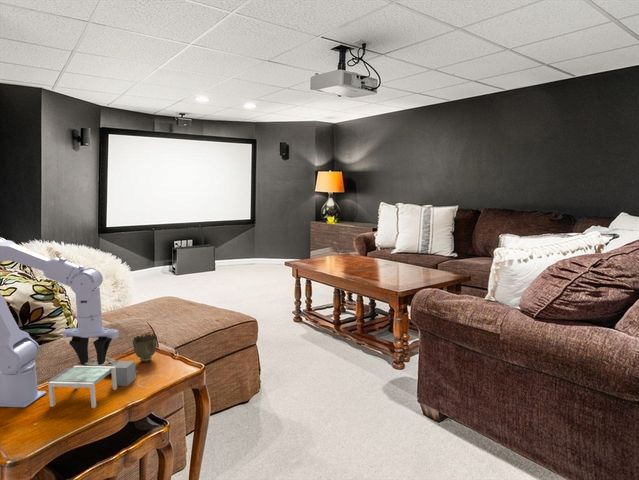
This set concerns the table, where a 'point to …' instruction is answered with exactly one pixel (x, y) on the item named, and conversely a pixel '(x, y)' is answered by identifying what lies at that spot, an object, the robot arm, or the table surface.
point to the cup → (145, 347)
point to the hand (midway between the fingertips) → (93, 363)
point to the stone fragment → (110, 363)
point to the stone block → (125, 372)
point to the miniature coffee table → (81, 385)
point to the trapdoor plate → (81, 375)
